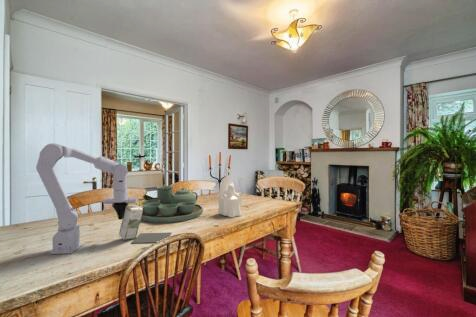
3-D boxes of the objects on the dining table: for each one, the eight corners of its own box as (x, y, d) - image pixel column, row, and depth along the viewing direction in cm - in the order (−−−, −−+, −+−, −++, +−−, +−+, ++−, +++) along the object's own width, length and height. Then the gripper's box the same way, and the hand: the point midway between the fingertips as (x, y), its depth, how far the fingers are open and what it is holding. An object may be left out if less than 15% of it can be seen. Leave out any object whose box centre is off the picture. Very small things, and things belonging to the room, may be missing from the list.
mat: (165, 242, 103) (165, 241, 103) (131, 243, 102) (131, 242, 102) (171, 233, 115) (171, 232, 115) (140, 234, 114) (140, 233, 114)
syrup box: (130, 233, 112) (137, 204, 112) (136, 238, 108) (143, 208, 108) (118, 235, 107) (125, 204, 107) (124, 240, 104) (131, 209, 104)
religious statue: (227, 219, 140) (228, 169, 139) (216, 213, 152) (217, 168, 150) (250, 214, 150) (251, 168, 149) (238, 209, 161) (239, 167, 160)
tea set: (124, 219, 140) (123, 192, 139) (167, 205, 177) (167, 183, 176) (178, 227, 125) (178, 197, 124) (213, 210, 162) (213, 186, 161)
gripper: (139, 188, 112) (140, 216, 112) (108, 188, 110) (108, 216, 111) (134, 190, 105) (134, 220, 105) (100, 191, 103) (101, 221, 104)
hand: (120, 218), depth 107 cm, fingers closed
